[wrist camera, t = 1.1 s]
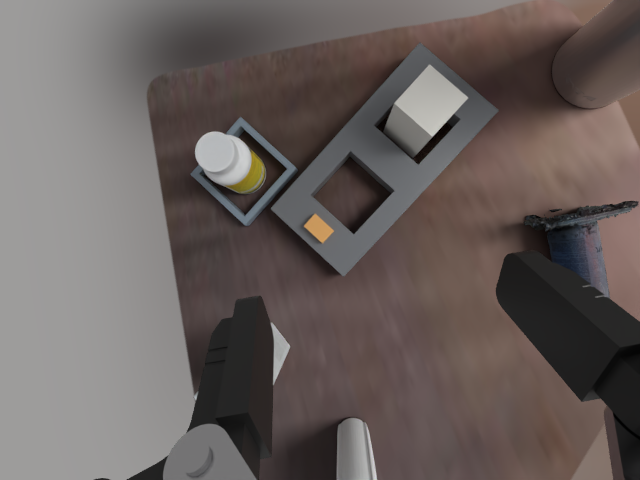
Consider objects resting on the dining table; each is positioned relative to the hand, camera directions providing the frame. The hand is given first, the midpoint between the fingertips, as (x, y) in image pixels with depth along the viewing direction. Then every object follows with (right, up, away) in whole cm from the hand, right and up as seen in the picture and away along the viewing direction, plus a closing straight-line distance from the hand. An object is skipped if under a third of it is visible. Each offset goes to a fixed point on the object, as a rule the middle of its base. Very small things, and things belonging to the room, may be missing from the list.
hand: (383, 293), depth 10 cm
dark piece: (+27, 0, +26) cm, 38 cm away
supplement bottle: (-12, +10, +29) cm, 33 cm away
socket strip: (+5, +11, +27) cm, 30 cm away
